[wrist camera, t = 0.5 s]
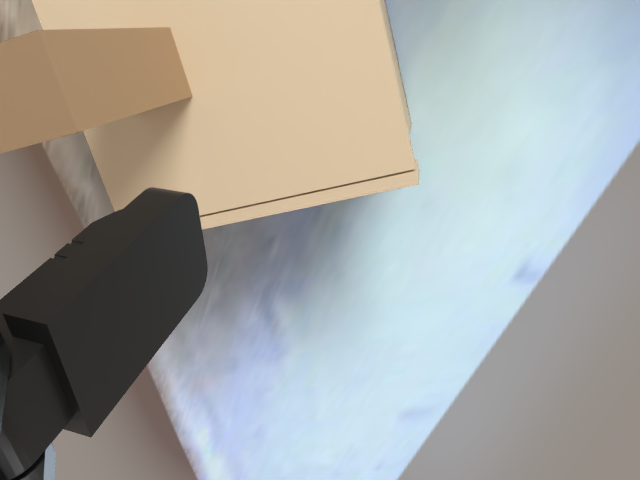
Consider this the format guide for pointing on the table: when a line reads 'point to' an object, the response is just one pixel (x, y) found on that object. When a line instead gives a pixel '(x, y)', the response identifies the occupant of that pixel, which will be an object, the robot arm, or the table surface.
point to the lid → (215, 99)
